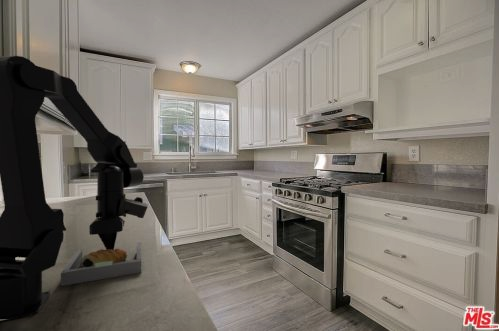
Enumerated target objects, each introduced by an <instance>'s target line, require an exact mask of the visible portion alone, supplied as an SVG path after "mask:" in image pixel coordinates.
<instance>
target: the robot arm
mask: <svg viewBox="0 0 499 331" xmlns="http://www.w3.org/2000/svg"><path fill="white" fill-rule="evenodd" d="M45 98H46V99H48V100H49V101H50V102H51V104H53V105H54V107H56V109H57V110H58V111H59V112H60V114H62V115H63V117H65V119H66V120H67V121H68V122H69V123H70V125H71V126H72V127H74V129H75V130H76V131H77V132H78V133H79V135H80V136H81V137H82V138H83V139H84V140H85V141H86V150H87V152H88V153H89V155H90V156H91V157H92V159H93V160H94V161H95V162H96V163H97V164H96V165H95V166H93V167H92V168H91V169H90V173H91V174H97V176H96V179H97V180H96V183H97V190H96V192H97V195H95V201H97V202H96V204H97V205H96V206H97V207H96V208H97V210H96V211H97V212H96V213H95V219H94V220H93V221H92V222H91V223H90V224H89V228H88V229H89V235H92V236H93V235H95V236H96V235H97V236H98V237H99V239H100V240H101V242H102V244H103V246H104V248H105V250H106V249H113V250H115V246H116V241H117V237H118V233H120V232H123V231H124V230H123V229H124V226H125V222H126V221H125V220H124V219H123V218H127V215H131V216H134V217H137V218H139V219H143V218H144V217H145V215H146V212H147V209H148V208H149V206H148V204H147V203H146V202H143V197H140V196H136V197H135V198H134V199H132V198H131V199H130V198H126V193H125V191H124V189H127V188H132V187H138V186H140V185H141V184H142V183H143V181H144V178H145V177H144V173H143V171H142V169H140V168H139V167H138V164H137V162H135V161H134V158H133V155H132V153H131V151H130V149H129V147H128V145H127V143H126V142H125V141H124V140H123V139H122V138H121V137H120V136H119V135H118V134H116V133H114V132H111V131H110V130H108V129H107V128H106V127H105V125H104V124H103V122H102V121H101V120H100V118H99V117H98V116H97V114H96V113H95V112H94V111H93V109H92V108H91V106H89V104H88V103H87V101H86V100H85V98H84V97H83V96H82V95H81V93H80V92H79V91H78V87H77V84H76V83H75V81H74V80H73V79H71V78H70V77H67V76H62V75H60V74H59V73H58V72H56V71H55V70H53V69H49V68H46V67H42V66H38V65H36V64H35V63H34V62H33V61H31V59H29V58H26V57H24V56H22V55H21V56H20V55H8V56H7V55H4V56H3V55H2V56H0V185H1V191H2V195H3V196H2V197H3V203H4V204H3V205H4V210H3V211H2V213H1V214H0V319H10V320H14V319H19V318H23V317H29V316H33V315H36V314H38V313H39V311H40V309H41V308H43V305H44V304H45V302H46V301H47V300H48V298H49V297H50V296H51V291H44V292H43V272H44V271H47V270H48V269H51V268H53V267H55V266H56V263H57V260H58V256H59V253H60V250H61V246H62V243H63V241H64V232H66V231H67V228H66V226H65V224H64V222H65V221H64V216H65V215H64V211H63V208H52V207H51V206H50V205H49V204H48V203H47V200H46V193H45V185H44V179H43V178H44V176H43V171H42V170H43V169H42V162H41V161H42V160H41V156H40V155H41V154H40V147H39V139H38V131H37V124H36V117H37V114H38V112H39V111H40V109H41V108H42V106H43V104H44V102H45ZM122 217H123V218H122ZM16 258H23V259H16ZM24 258H25V259H24Z"/></svg>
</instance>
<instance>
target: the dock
mask: <svg viewBox="0 0 499 331" xmlns="http://www.w3.org/2000/svg"><path fill="white" fill-rule="evenodd" d="M135 257H136V259H134V260H133V259H132V260H127V261H126V260H124V261H123V262H118V263H113V261H107V262H100V263H96V264H95V266H92V267H85V268H81V267H80V263H81V260H82V259H83V249H79V250H76V252H75V253H74V254H73V255H72V257H71V259H70V260H69V261H68V263H67V264H66V265H65V266H64V268H63V269H62V271H61V272H60V287H64V286H68V285H74V284H75V285H76V284H81V283H86V282H92V281H97V280H98V281H99V280H105V279H111V278H115V277H117V278H118V277H121V276H128V275H134V274H138V273H142V242H137V243H136V256H135ZM79 267H80V268H79Z"/></svg>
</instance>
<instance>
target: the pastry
mask: <svg viewBox="0 0 499 331" xmlns="http://www.w3.org/2000/svg"><path fill="white" fill-rule="evenodd" d="M127 256H128V254H127V251H125V250H124V249H121V248H114V250H113V249H106V248H105V249H99V250H96V251H93V252H89V253H87V254H85V255H83V256H82V260H81V263H80V265H79V267H80V268H85V267H92V266H95V264H96V263H100V262H107V261H113V263H118V262H125V261H126V259H127Z"/></svg>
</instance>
